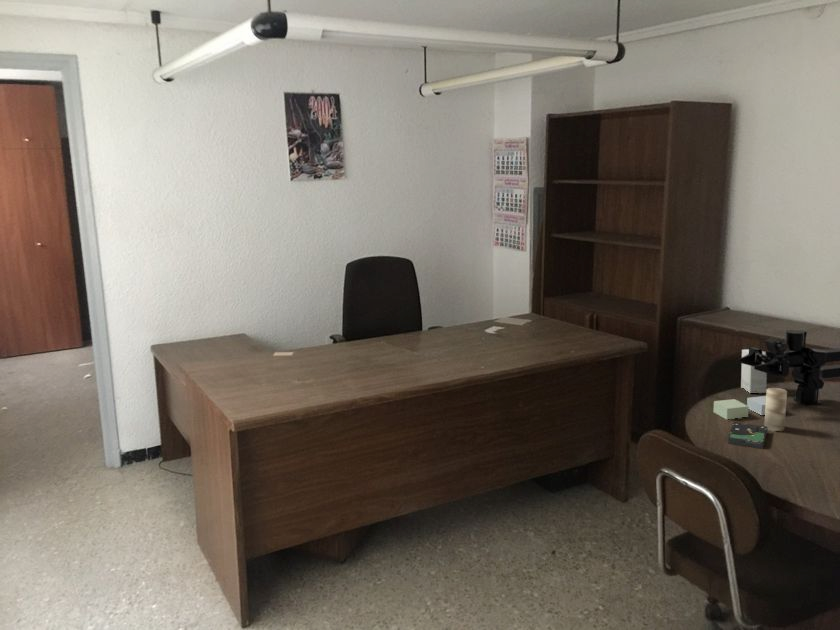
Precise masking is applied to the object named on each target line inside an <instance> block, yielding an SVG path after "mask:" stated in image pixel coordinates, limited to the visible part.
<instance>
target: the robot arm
mask: <svg viewBox="0 0 840 630" xmlns="http://www.w3.org/2000/svg"><path fill="white" fill-rule="evenodd" d="M807 335H808V334H807V331H804V330H794V329H787V330H786V331H785V341H783V340H781V339H780V338H777V337H774V336H772V337H770V338H768V339H766V340H764V344H765V346H766V349H767V350H765V353H766V356H765V355H762V351H763V350H762V349H760V348H758V347H749V348H748V349H749V354H748V355H746V356H744V357H742V356H741V358H738V359H737V363H739V364H742V363H743V364H746V365H750V366H754V369H755V370H759V371H762V372H765V373H767V375H772V376H775V377H779V378H781V379H782V378H787V377H788V375H789V372H790V369H792V370H791V377H792V379H793V381H794V384H797V388H796V392H795V393H796V394H795V398H793V401H795V402H798V403H800V404H802V405H804V406H812V405H821V404H822V401H819V391H820V389H823V388H824V386H825V382H824V381H823V380H824V379H826V380H827V379H833V378H834V379H835V378H840V364H832V365H826V364H827V363H831V362H832V363H833V362H840V348H830V349H818V348H813V347H808V346H806V341H807V340H806V339H807ZM787 350H788V351H787ZM762 362H764V363H765V364H762ZM824 365H825V366H824Z"/></svg>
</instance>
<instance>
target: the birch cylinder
mask: <svg viewBox="0 0 840 630" xmlns="http://www.w3.org/2000/svg"><path fill="white" fill-rule="evenodd" d="M765 396H766V405H765V416H764V422H763V426H767V429H768V430H767V431H770V430H771V431H770V432H775V431H780V432H784V431H785V427H786V426H785V424H786V413H787V412H786V411H787V410H786V409H787V400H788V399H787V396H788V391H787V390H786V389H784V388H780V387H768V388H766V393H765Z"/></svg>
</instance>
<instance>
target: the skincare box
mask: <svg viewBox="0 0 840 630" xmlns="http://www.w3.org/2000/svg"><path fill="white" fill-rule="evenodd" d="M761 351H762V355H765V356H766V351H763V350H761ZM748 354H749V348H748V349H747V348H746V349H741V358H742V357H744V356H746V355H748ZM762 364H765V363H764V362H762ZM740 373H741V374H740V376H741V377H740V378H741V379H740V388H741V389H742V388H744V389H745V390H746V392H747V391H748V392H749V393H748V392H747V393H748V394H750V393H759V394H766V390H767V379H768V377H767V376H768V373H765V372H762V371H759V370H755V369H754V366H750V365H746V364H743V363H741V372H740ZM744 389H743V390H744ZM745 390H744V391H745Z"/></svg>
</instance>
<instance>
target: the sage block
mask: <svg viewBox="0 0 840 630" xmlns="http://www.w3.org/2000/svg"><path fill="white" fill-rule="evenodd" d="M712 412H713V413H714V414H715V415H718V416H720V417H721V418H723V419H725V420H728V419H729V420H736V419H735V418H738V419H743V418H742V417H747V418H749V406H747V404H745V403H743V402H741V401H739V400H738V399H734V398H733V399H731V398H730V399H723V400H714V401H713V411H712Z"/></svg>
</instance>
